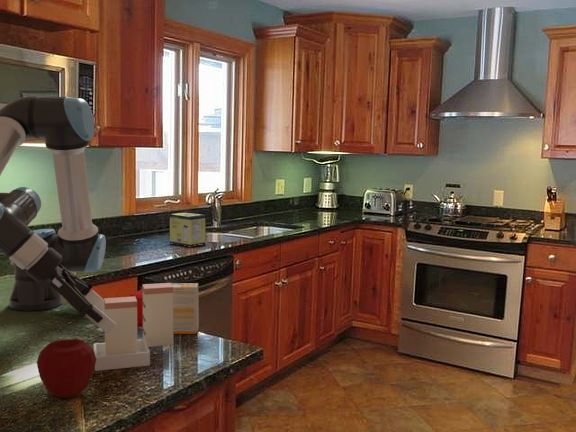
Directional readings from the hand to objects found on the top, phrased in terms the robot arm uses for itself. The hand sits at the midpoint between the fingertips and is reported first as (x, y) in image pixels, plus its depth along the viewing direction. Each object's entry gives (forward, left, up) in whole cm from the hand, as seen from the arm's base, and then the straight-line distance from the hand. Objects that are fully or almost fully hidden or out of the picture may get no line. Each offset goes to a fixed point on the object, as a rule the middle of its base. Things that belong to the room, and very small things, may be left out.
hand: (109, 319), depth 133 cm
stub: (-1, +2, -10) cm, 10 cm away
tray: (-1, +2, -10) cm, 10 cm away
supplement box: (-21, +16, -10) cm, 28 cm away
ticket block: (-12, +10, -10) cm, 19 cm away
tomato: (-29, +6, -10) cm, 31 cm away
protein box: (-160, +18, -10) cm, 161 cm away
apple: (+17, -6, -10) cm, 21 cm away
